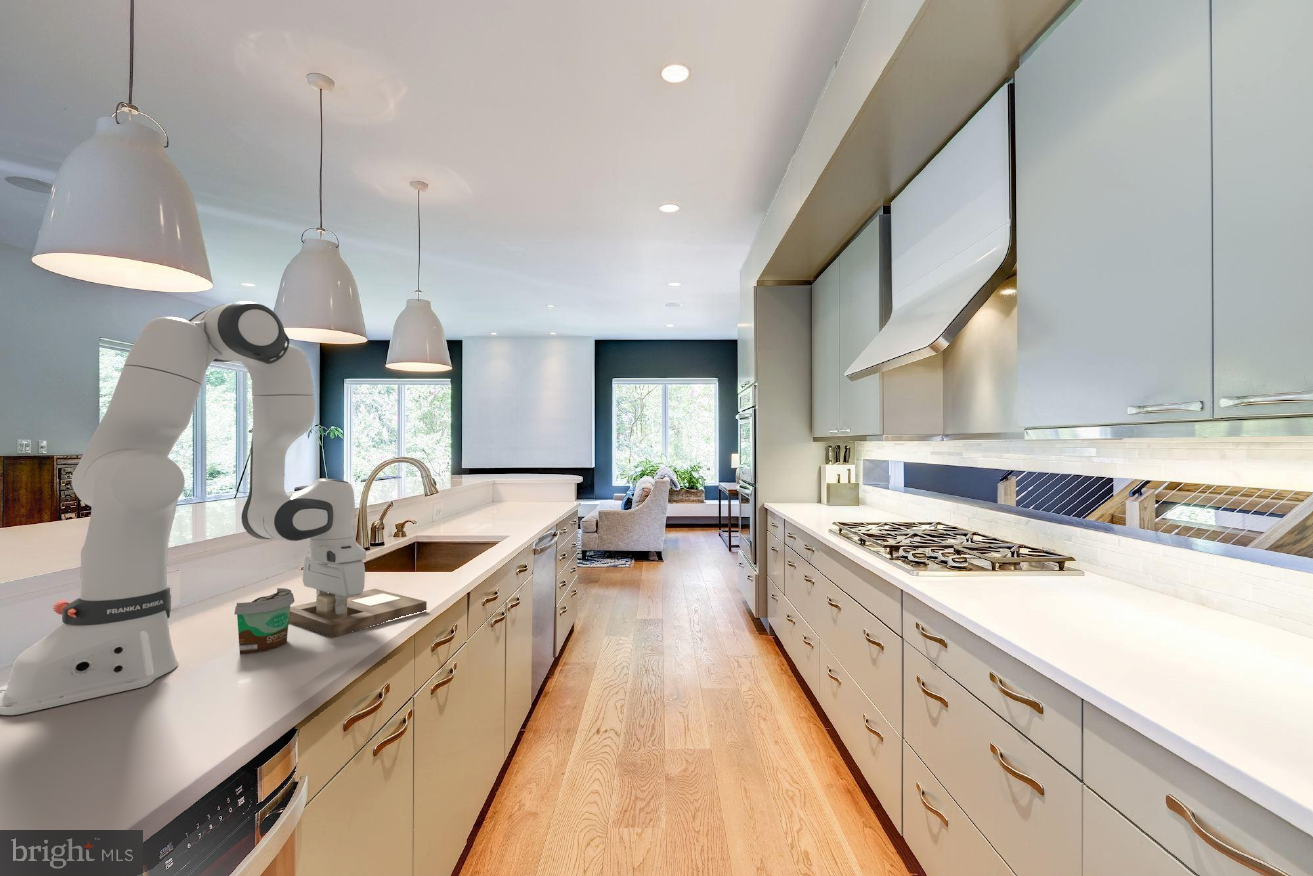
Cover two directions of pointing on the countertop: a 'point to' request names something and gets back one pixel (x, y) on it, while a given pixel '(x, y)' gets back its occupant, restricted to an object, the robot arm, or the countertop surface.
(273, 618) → the food container
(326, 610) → the ash block
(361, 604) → the pocket board
